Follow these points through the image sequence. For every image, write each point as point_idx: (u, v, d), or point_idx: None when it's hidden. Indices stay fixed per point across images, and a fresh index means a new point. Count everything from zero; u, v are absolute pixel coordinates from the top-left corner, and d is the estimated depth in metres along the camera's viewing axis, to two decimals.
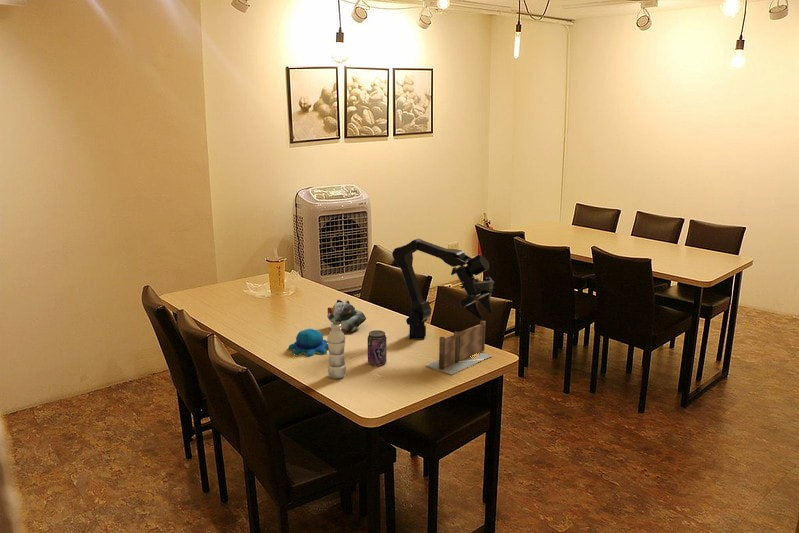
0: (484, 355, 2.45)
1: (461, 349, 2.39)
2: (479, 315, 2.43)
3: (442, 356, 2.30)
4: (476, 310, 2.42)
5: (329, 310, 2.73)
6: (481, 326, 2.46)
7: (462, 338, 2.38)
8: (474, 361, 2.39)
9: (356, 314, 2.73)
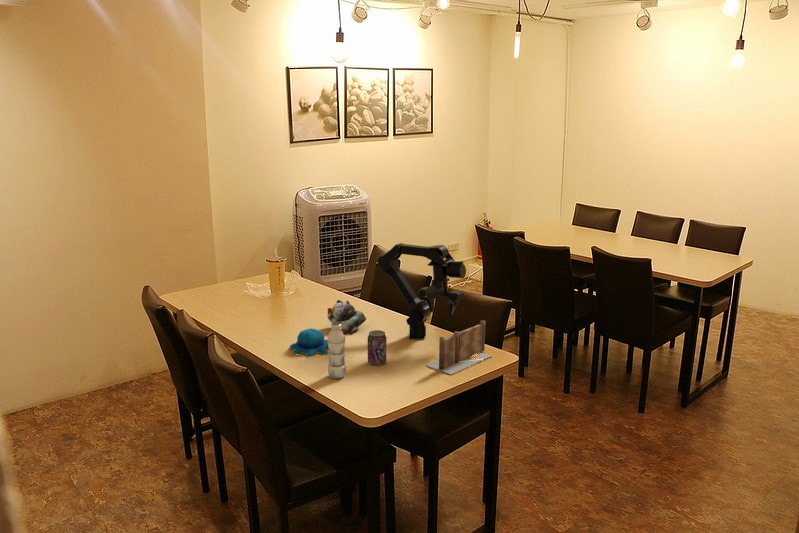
0: (484, 355, 2.45)
1: (461, 349, 2.39)
2: None
3: (442, 356, 2.30)
4: None
5: (329, 310, 2.73)
6: (481, 326, 2.46)
7: (462, 338, 2.38)
8: (474, 361, 2.39)
9: (356, 314, 2.73)
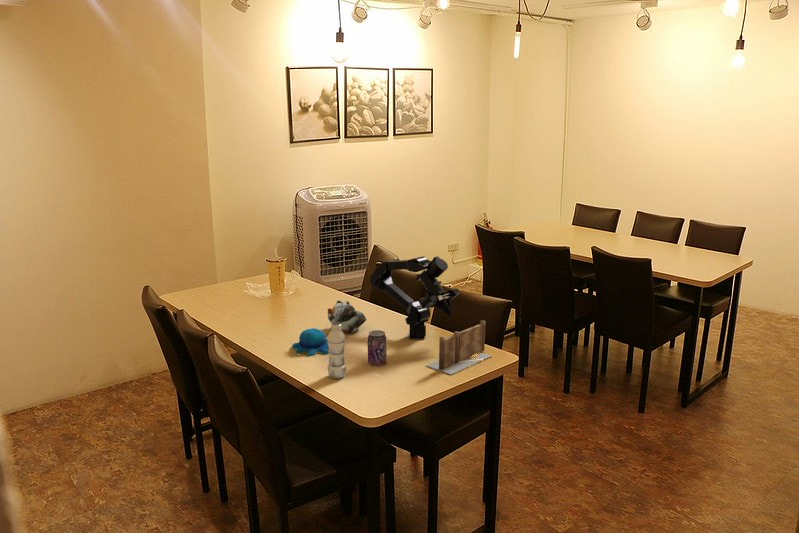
0: (484, 355, 2.45)
1: (461, 349, 2.39)
2: None
3: (442, 356, 2.30)
4: None
5: (329, 311, 2.72)
6: (481, 326, 2.46)
7: (462, 338, 2.38)
8: (474, 361, 2.39)
9: (356, 315, 2.72)
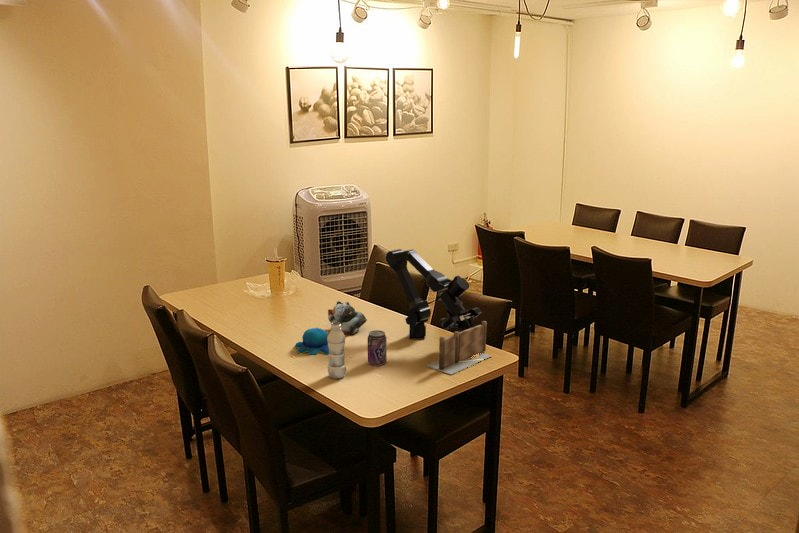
0: (484, 355, 2.45)
1: (461, 349, 2.38)
2: None
3: (442, 356, 2.30)
4: None
5: (330, 312, 2.71)
6: (482, 326, 2.45)
7: (462, 338, 2.38)
8: (474, 361, 2.39)
9: (357, 315, 2.71)
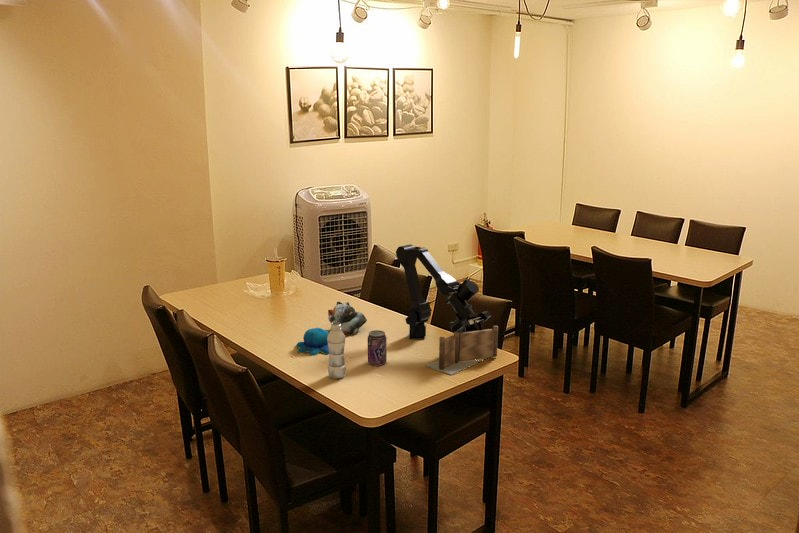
0: None
1: (462, 350, 2.38)
2: None
3: (442, 356, 2.30)
4: None
5: (330, 312, 2.70)
6: (492, 331, 2.40)
7: (464, 339, 2.37)
8: (474, 361, 2.39)
9: (357, 316, 2.71)
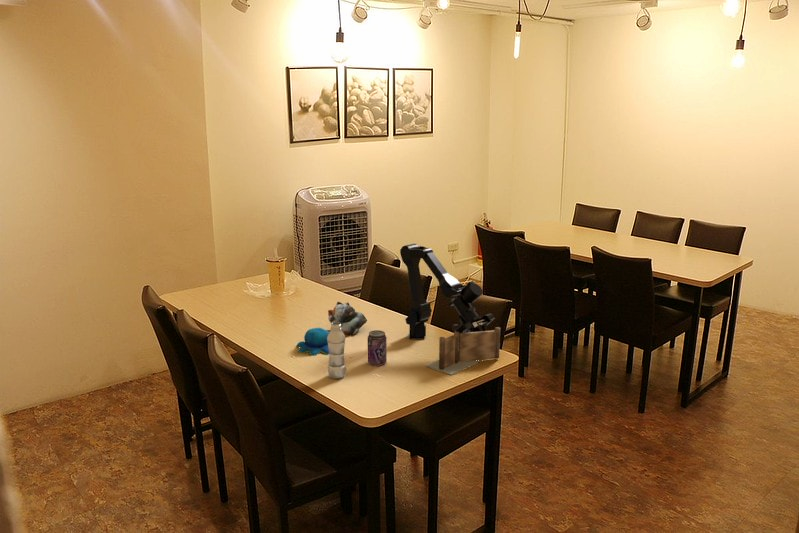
0: None
1: (462, 350, 2.37)
2: None
3: (442, 356, 2.30)
4: None
5: (330, 312, 2.70)
6: (494, 332, 2.39)
7: (464, 339, 2.36)
8: (474, 361, 2.39)
9: (357, 316, 2.71)
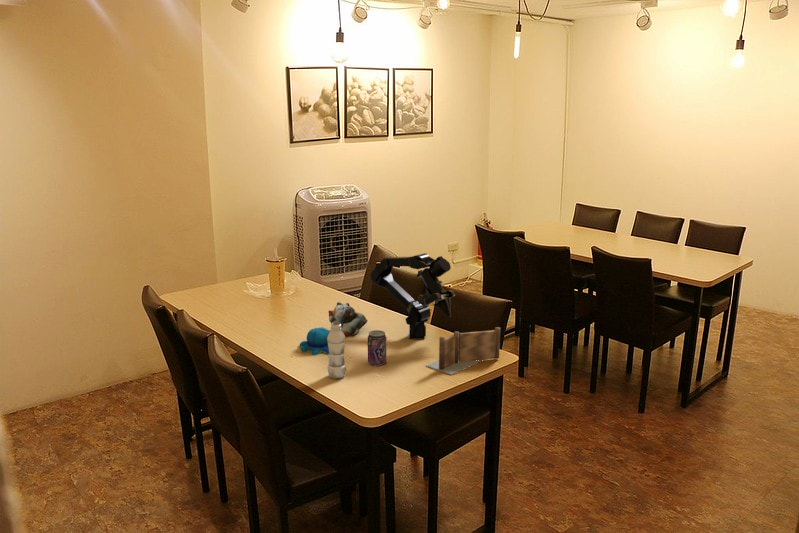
0: None
1: (462, 350, 2.37)
2: None
3: (442, 356, 2.30)
4: None
5: (330, 313, 2.69)
6: (494, 332, 2.39)
7: (464, 339, 2.36)
8: (474, 361, 2.39)
9: (358, 316, 2.70)
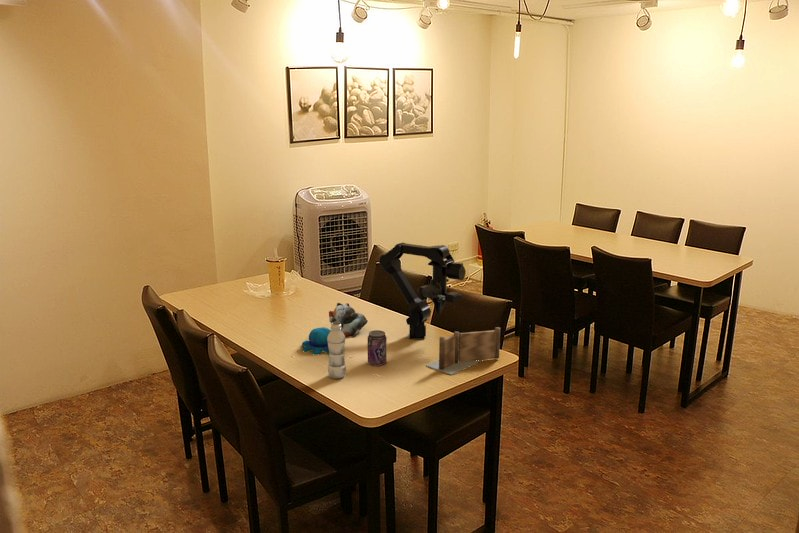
0: None
1: (462, 350, 2.37)
2: None
3: (442, 356, 2.30)
4: None
5: (330, 314, 2.68)
6: (494, 332, 2.39)
7: (464, 339, 2.36)
8: (474, 361, 2.39)
9: (358, 317, 2.70)
